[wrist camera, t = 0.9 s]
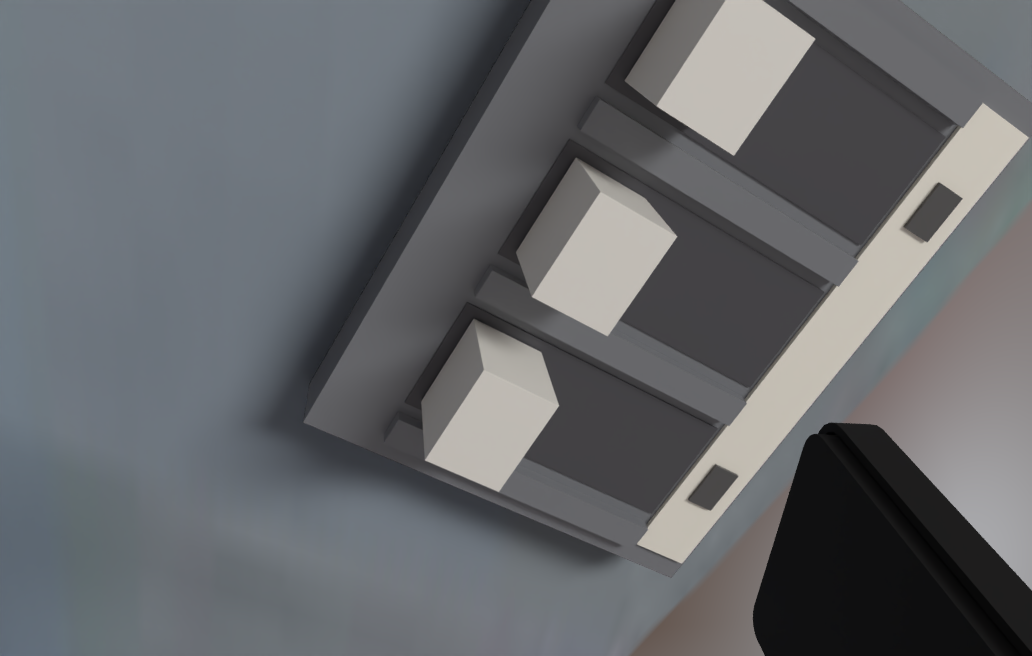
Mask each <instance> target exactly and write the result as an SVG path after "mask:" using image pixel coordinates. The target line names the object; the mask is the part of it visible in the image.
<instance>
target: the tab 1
mask: <svg viewBox="0 0 1032 656" xmlns="http://www.w3.org/2000/svg"><path fill="white" fill-rule="evenodd" d="M421 405H422V421H423V437H424V454H425V461H428V462H430V463H432V464H435V465H437V466H439V467H442V468H444V469H446V470H449V471H451V472H453V473H456V474H458V475H460V476H463V477H465V478H467V479H470V480H472V481H474V482H477V483H479V484H481V485H484V486H486V487H488V488H491V489H493V490H495V491H498V492H499V491H500V490H501V488H502V487H503V485H504V484H505V483H506V481H507V480H508V478H509V477H510V475H511V474H512V473H513V471H514V470H515V468H516V467H517V465H518V464H519V462H520V461H521V460H522V458H523V457H524V455H525V454H526V452H527V451H528V450H529V448H530V447H531V445H532V444H533V442H534V441H535V440H536V438H537V437H538V435H539V434H540V432H541V431H542V430H543V428H544V427H545V425H546V424H547V422H548V421H549V420H550V418H551V417H552V415H553V414H554V412H555V411H556V410H557V408H558V407H559V404H558V401H557V398H556V395H555V392H554V389H553V386H552V383H551V380H550V377H549V374H548V371H547V368H546V365H545V362H544V359H543V356H542V353H541V352H540V351H538V350H536V349H534V348H532V347H530V346H528V345H526V344H524V343H522V342H520V341H518V340H516V339H514V338H512V337H510V336H508V335H506V334H504V333H502V332H500V331H498V330H496V329H494V328H492V327H490V326H488V325H486V324H484V323H482V322H480V321H478V320H476V319H473V321H472V322H471V324H470V325H469V327H468V328H467V330H466V332H465V333H464V335H463V336H462V338H461V339H460V341H459V343H458V344H457V346H456V347H455V349H454V351H453V352H452V354H451V355H450V357H449V358H448V360H447V362H446V363H445V365H444V366H443V368H442V369H441V371H440V373H439V374H438V376H437V377H436V379H435V380H434V382H433V384H432V385H431V387H430V388H429V390H428V392H427V393H426V395H425V396H424V398H423V399H422V401H421Z"/></svg>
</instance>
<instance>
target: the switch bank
mask: <svg viewBox="0 0 1032 656" xmlns="http://www.w3.org/2000/svg"><path fill="white" fill-rule="evenodd" d="M763 1H764V2H765V3H767V4H768V5H770V6H771V7H772V8H774V9H775V10H776V11H778V12H779V13H781V14H782V15H783V16H785V17H786V18H788V19H789V20H790V21H792V22H793V23H794V24H796V25H797V26H799V27H800V28H801V29H803V30H804V31H805V32H807V33H808V34H810V35H811V36H812V37H814V38H815V40H814V42H813V43H812V45H811V46H810V48H809V49H808V50H807V52H806V53H805V55H804V56H803V58H802V59H801V60H800V62H799V63H798V65H797V66H796V68H795V69H794V70H793V72H792V73H791V75H790V76H789V78H788V79H787V80H786V82H785V83H784V85H783V86H782V88H781V89H780V90H779V92H778V93H777V95H776V96H775V98H774V99H773V100H772V102H771V103H770V105H769V106H768V108H767V109H766V110H765V112H764V113H763V115H762V116H761V118H760V119H759V120H758V122H757V123H756V125H755V126H754V128H753V129H752V131H751V132H750V133H749V135H748V136H747V138H746V139H745V141H744V142H743V143H742V145H741V146H740V148H739V149H738V151H737V152H736V153H735V155H732V154H730V153H729V152H727V151H726V150H724V149H723V148H721V147H719V146H718V145H716V144H715V143H713V142H712V141H710V140H708V139H707V138H705V137H704V136H702V135H701V134H699V133H698V132H696V131H694V130H693V129H691V128H690V127H688V126H687V125H685V124H683V123H682V122H680V121H679V120H677V119H676V118H674V117H672V116H671V115H669V114H668V113H666V112H665V111H663V110H662V109H660V108H658V107H657V106H655V105H654V104H653V103H652V102H650V101H649V100H648V99H647V98H645V97H644V96H643V95H642V94H640V93H639V92H638V91H637V90H635V89H634V88H633V87H631V86H630V85H629V84H628V83H626V82H625V79H626V78H627V76H628V75H629V73H630V71H631V70H632V68H633V67H634V65H635V64H636V62H637V60H638V59H639V57H640V56H641V54H642V52H643V51H644V49H645V48H646V46H647V45H648V43H649V41H650V40H651V38H652V37H653V35H654V34H655V32H656V30H657V29H658V27H659V26H660V24H661V23H662V21H663V19H664V18H665V16H666V15H667V13H668V11H669V10H670V8H671V7H672V5H673V4H674V2H675V0H531V2H530V4H529V5H528V7H527V9H526V11H525V12H524V14H523V16H522V17H521V19H520V21H519V23H518V24H517V26H516V28H515V30H514V31H513V33H512V35H511V36H510V38H509V40H508V42H507V43H506V45H505V47H504V49H503V50H502V52H501V54H500V55H499V57H498V59H497V61H496V62H495V64H494V66H493V68H492V69H491V71H490V73H489V75H488V76H487V78H486V80H485V81H484V83H483V85H482V87H481V88H480V90H479V92H478V94H477V95H476V97H475V99H474V100H473V102H472V104H471V106H470V107H469V109H468V111H467V113H466V114H465V116H464V118H463V119H462V121H461V123H460V125H459V126H458V128H457V130H456V132H455V133H454V135H453V137H452V138H451V140H450V142H449V144H448V145H447V147H446V149H445V151H444V152H443V154H442V156H441V158H440V159H439V161H438V163H437V164H436V166H435V168H434V170H433V171H432V173H431V175H430V177H429V178H428V180H427V182H426V183H425V185H424V187H423V189H422V190H421V192H420V194H419V196H418V197H417V199H416V201H415V202H414V204H413V206H412V208H411V209H410V211H409V213H408V215H407V216H406V218H405V220H404V221H403V223H402V225H401V227H400V228H399V230H398V232H397V234H396V235H395V237H394V239H393V241H392V242H391V244H390V246H389V247H388V249H387V251H386V253H385V254H384V256H383V258H382V260H381V261H380V263H379V265H378V266H377V268H376V270H375V272H374V273H373V275H372V277H371V279H370V280H369V282H368V284H367V285H366V287H365V289H364V291H363V292H362V294H361V296H360V298H359V299H358V301H357V303H356V304H355V306H354V308H353V310H352V311H351V313H350V315H349V317H348V318H347V320H346V322H345V324H344V325H343V327H342V329H341V330H340V332H339V334H338V336H337V337H336V339H335V341H334V343H333V344H332V346H331V348H330V349H329V351H328V353H327V355H326V356H325V358H324V360H323V362H322V363H321V365H320V367H319V368H318V370H317V372H316V374H315V375H314V377H313V379H312V381H311V382H310V384H309V390H308V396H307V402H306V408H305V414H304V420H303V423H306V424H308V425H310V426H313V427H315V428H317V429H320V430H322V431H325V432H327V433H329V434H332V435H334V436H336V437H339V438H341V439H343V440H346V441H348V442H351V443H353V444H355V445H358V446H360V447H362V448H365V449H367V450H369V451H372V452H374V453H377V454H379V455H381V456H384V457H386V458H388V459H391V460H393V461H396V462H398V463H400V464H403V465H405V466H407V467H410V468H412V469H414V470H417V471H419V472H422V473H424V474H426V475H429V476H431V477H433V478H436V479H438V480H440V481H443V482H445V483H448V484H450V485H452V486H455V487H457V488H459V489H462V490H464V491H467V492H469V493H471V494H474V495H476V496H478V497H481V498H483V499H485V500H488V501H490V502H493V503H495V504H497V505H500V506H502V507H504V508H507V509H509V510H512V511H514V512H516V513H519V514H521V515H523V516H526V517H528V518H530V519H533V520H535V521H538V522H540V523H542V524H545V525H547V526H549V527H552V528H554V529H556V530H559V531H561V532H564V533H566V534H568V535H571V536H573V537H575V538H578V539H580V540H583V541H585V542H587V543H590V544H592V545H594V546H597V547H599V548H601V549H604V550H606V551H609V552H611V553H613V554H616V555H618V556H620V557H623V558H625V559H627V560H630V561H632V562H635V563H637V564H639V565H642V566H644V567H646V568H649V569H651V570H654V571H656V572H658V573H661V574H663V575H665V576H668V577H670V578H672V577H673V575H674V574H675V573H676V572H677V570H678V569H679V568H680V567H681V566H682V564H683V563H684V562H685V561H686V559H687V558H688V557H689V556H690V555H691V553H692V552H693V551H694V550H695V548H696V547H697V546H698V545H699V543H700V542H701V541H702V540H703V539H704V537H705V536H706V535H707V534H708V532H709V531H710V530H711V529H712V528H713V526H714V525H715V524H716V523H717V521H718V520H719V519H720V518H721V516H722V515H723V514H724V513H725V512H726V510H727V509H728V508H729V507H730V505H731V504H732V503H733V502H734V501H735V499H736V498H737V497H738V496H739V494H740V493H741V492H742V491H743V489H744V488H745V487H746V486H747V485H748V483H749V482H750V481H751V480H752V478H753V477H754V476H755V475H756V474H757V472H758V471H759V470H760V469H761V467H762V466H763V465H764V464H765V462H766V461H767V460H768V459H769V458H770V456H771V455H772V454H773V453H774V451H775V450H776V449H777V448H778V447H779V445H780V444H781V443H782V442H783V440H784V439H785V438H786V437H787V435H788V434H789V433H790V432H791V431H792V429H793V428H794V427H795V426H796V424H797V423H798V422H799V421H800V420H801V418H802V417H803V416H804V415H805V413H806V412H807V411H808V410H809V408H810V407H811V406H812V405H813V404H814V402H815V401H816V400H817V399H818V397H819V396H820V395H821V394H822V393H823V391H824V390H825V389H826V388H827V386H828V385H829V384H830V383H831V381H832V380H833V379H834V378H835V377H836V375H837V374H838V373H839V372H840V370H841V369H842V368H843V367H844V366H845V364H846V363H847V362H848V361H849V359H850V358H851V357H852V356H853V354H854V353H855V352H856V351H857V350H858V348H859V347H860V346H861V345H862V343H863V342H864V341H865V340H866V339H867V337H868V336H869V335H870V334H871V332H872V331H873V330H874V329H875V327H876V326H877V325H878V324H879V323H880V321H881V320H882V319H883V318H884V316H885V315H886V314H887V313H888V312H889V310H890V309H891V308H892V307H893V305H894V304H895V303H896V302H897V300H898V299H899V298H900V297H901V296H902V294H903V293H904V292H905V291H906V289H907V288H908V287H909V286H910V285H911V283H912V282H913V281H914V280H915V278H916V277H917V276H918V275H919V273H920V272H921V271H922V270H923V269H924V267H925V266H926V265H927V264H928V262H929V261H930V260H931V259H932V258H933V256H934V255H935V254H936V253H937V251H938V250H939V249H940V248H941V246H942V245H943V244H944V243H945V242H946V240H947V239H948V238H949V237H950V235H951V234H952V233H953V232H954V231H955V229H956V228H957V227H958V226H959V224H960V223H961V222H962V221H963V220H964V218H965V217H966V216H967V215H968V213H969V212H970V211H971V210H972V208H973V207H974V206H975V205H976V204H977V202H978V201H979V200H980V199H981V197H982V196H983V195H984V194H985V193H986V191H987V190H988V189H989V188H990V186H991V185H992V184H993V183H994V181H995V180H996V179H997V178H998V177H999V175H1000V174H1001V173H1002V172H1003V170H1004V169H1005V168H1006V167H1007V166H1008V164H1009V163H1010V162H1011V161H1012V159H1013V158H1014V157H1015V156H1016V154H1017V153H1018V152H1019V151H1020V150H1021V148H1022V147H1023V146H1024V145H1025V143H1026V142H1027V141H1028V140H1029V139H1030V137H1031V136H1032V103H1031V102H1030V101H1029V100H1028V99H1026V98H1025V97H1024V96H1022V95H1021V94H1020V93H1018V92H1017V91H1016V90H1015V89H1013V88H1012V87H1011V86H1009V85H1008V84H1007V83H1006V82H1004V81H1003V80H1002V79H1000V78H999V77H998V76H997V75H995V74H994V73H993V72H991V71H990V70H989V69H988V68H986V67H985V66H984V65H982V64H981V63H980V62H978V61H977V60H976V59H975V58H973V57H972V56H971V55H969V54H968V53H967V52H966V51H964V50H963V49H962V48H960V47H959V46H958V45H957V44H955V43H954V42H953V41H951V40H950V39H949V38H948V37H946V36H945V35H944V34H942V33H941V32H940V31H939V30H937V29H936V28H935V27H933V26H932V25H931V24H929V23H928V22H927V21H926V20H924V19H923V18H922V17H920V16H919V15H918V14H917V13H915V12H914V11H913V10H911V9H910V8H909V7H908V6H906V5H905V4H904V3H902V2H901V1H900V0H763ZM575 158H578V159H580V160H581V161H583V162H585V163H586V164H588V165H590V166H592V167H593V168H595V169H597V170H598V171H600V172H602V173H603V174H605V175H607V176H608V177H610V178H612V179H613V180H615V181H617V182H619V183H620V184H622V185H624V186H625V187H627V188H629V189H630V190H632V191H634V192H635V193H637V194H639V195H640V196H642V197H644V198H645V199H646V200H647V201H648V202H649V203H650V205H651V206H652V207H653V208H654V209H655V211H656V212H657V213H658V214H659V215H660V217H661V218H662V219H663V220H664V221H665V222H666V224H667V225H668V226H669V227H670V228H671V230H672V231H673V232H674V233H675V234H676V236H677V238H676V239H675V241H674V242H673V244H672V245H671V246H670V248H669V249H668V251H667V252H666V254H665V255H664V256H663V258H662V259H661V261H660V262H659V264H658V265H657V266H656V268H655V269H654V271H653V272H652V274H651V275H650V276H649V278H648V279H647V281H646V282H645V284H644V285H643V286H642V288H641V289H640V291H639V292H638V294H637V295H636V297H635V298H634V299H633V301H632V302H631V304H630V305H629V307H628V308H627V309H626V311H625V312H624V314H623V315H622V317H621V318H620V319H619V321H618V322H617V324H616V325H615V327H614V328H613V329H612V331H611V332H610V334H609V335H608V336H606V335H604V334H602V333H600V332H598V331H596V330H594V329H592V328H591V327H589V326H587V325H585V324H583V323H581V322H579V321H577V320H575V319H573V318H571V317H569V316H567V315H566V314H564V313H562V312H560V311H558V310H556V309H554V308H552V307H550V306H548V305H546V304H544V303H542V302H541V301H539V300H537V299H535V298H533V297H532V296H531V293H530V291H529V288H528V285H527V282H526V279H525V276H524V274H523V271H522V268H521V265H520V262H519V260H518V257H517V254H516V251H517V250H518V248H519V246H520V245H521V243H522V242H523V240H524V239H525V237H526V235H527V234H528V232H529V231H530V229H531V228H532V226H533V224H534V223H535V221H536V220H537V218H538V216H539V215H540V213H541V212H542V210H543V209H544V207H545V205H546V204H547V202H548V201H549V199H550V198H551V196H552V194H553V193H554V191H555V190H556V188H557V187H558V185H559V183H560V182H561V180H562V179H563V177H564V175H565V174H566V172H567V171H568V169H569V168H570V166H571V164H572V163H573V161H574V160H575ZM473 319H476V320H478V321H480V322H482V323H484V324H486V325H488V326H490V327H492V328H494V329H496V330H498V331H500V332H502V333H504V334H506V335H508V336H510V337H512V338H514V339H516V340H518V341H520V342H522V343H524V344H526V345H528V346H530V347H532V348H534V349H536V350H538V351H540V352H541V353H542V356H543V359H544V362H545V365H546V368H547V371H548V374H549V377H550V380H551V383H552V386H553V389H554V392H555V395H556V398H557V401H558V404H559V407H558V408H557V410H556V411H555V412H554V414H553V415H552V417H551V418H550V420H549V421H548V422H547V424H546V425H545V427H544V428H543V430H542V431H541V432H540V434H539V435H538V437H537V438H536V440H535V441H534V442H533V444H532V445H531V447H530V448H529V450H528V451H527V452H526V454H525V455H524V457H523V458H522V460H521V461H520V462H519V464H518V465H517V467H516V468H515V470H514V471H513V473H512V474H511V475H510V477H509V478H508V480H507V481H506V483H505V484H504V485H503V487H502V488H501V490H500V491H499V492H498V491H495V490H493V489H491V488H488V487H486V486H484V485H481V484H479V483H477V482H474V481H472V480H470V479H467V478H465V477H463V476H460V475H458V474H456V473H453V472H451V471H449V470H446V469H444V468H442V467H439V466H437V465H435V464H432V463H430V462H428V461H425V454H424V437H423V421H422V405H421V401H422V399H423V398H424V396H425V395H426V393H427V392H428V390H429V388H430V387H431V385H432V384H433V382H434V380H435V379H436V377H437V376H438V374H439V373H440V371H441V369H442V368H443V366H444V365H445V363H446V362H447V360H448V358H449V357H450V355H451V354H452V352H453V351H454V349H455V347H456V346H457V344H458V343H459V341H460V339H461V338H462V336H463V335H464V333H465V332H466V330H467V328H468V327H469V325H470V324H471V322H472V321H473Z"/></svg>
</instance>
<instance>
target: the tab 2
mask: <svg viewBox="0 0 1032 656" xmlns="http://www.w3.org/2000/svg"><path fill="white" fill-rule="evenodd" d="M814 40H815V38H814V37H812V36H811V35H810V34H808V33H807V32H805V31H804V30H803V29H801V28H800V27H799V26H797V25H796V24H794V23H793V22H792V21H790V20H789V19H788V18H786V17H785V16H783V15H782V14H781V13H779V12H778V11H776V10H775V9H774V8H772V7H771V6H770V5H768V4H767V3H765V2H764V1H763V0H675V2H674V4H673V5H672V7H671V8H670V10H669V11H668V13H667V15H666V16H665V18H664V19H663V21H662V23H661V24H660V26H659V27H658V29H657V30H656V32H655V34H654V35H653V37H652V38H651V40H650V41H649V43H648V45H647V46H646V48H645V49H644V51H643V52H642V54H641V56H640V57H639V59H638V60H637V62H636V64H635V65H634V67H633V68H632V70H631V71H630V73H629V75H628V76H627V78H626V79H625V82H626V83H628V84H629V85H630V86H631V87H633V88H634V89H635V90H637V91H638V92H639V93H640V94H642V95H643V96H644V97H645V98H647V99H648V100H649V101H650V102H652V103H653V104H654V105H655V106H657V107H658V108H660V109H662V110H663V111H665V112H666V113H668V114H669V115H671V116H672V117H674V118H676V119H677V120H679V121H680V122H682V123H683V124H685V125H687V126H688V127H690V128H691V129H693V130H694V131H696V132H698V133H699V134H701V135H702V136H704V137H705V138H707V139H708V140H710V141H712V142H713V143H715V144H716V145H718V146H719V147H721V148H723V149H724V150H726V151H727V152H729V153H730V154H732V155H735V153H736V152H737V151H738V149H739V148H740V146H741V145H742V143H743V142H744V141H745V139H746V138H747V136H748V135H749V133H750V132H751V131H752V129H753V128H754V126H755V125H756V123H757V122H758V120H759V119H760V118H761V116H762V115H763V113H764V112H765V110H766V109H767V108H768V106H769V105H770V103H771V102H772V100H773V99H774V98H775V96H776V95H777V93H778V92H779V90H780V89H781V88H782V86H783V85H784V83H785V82H786V80H787V79H788V78H789V76H790V75H791V73H792V72H793V70H794V69H795V68H796V66H797V65H798V63H799V62H800V60H801V59H802V58H803V56H804V55H805V53H806V52H807V50H808V49H809V48H810V46H811V45H812V43H813V42H814Z"/></svg>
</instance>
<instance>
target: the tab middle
mask: <svg viewBox="0 0 1032 656" xmlns="http://www.w3.org/2000/svg"><path fill="white" fill-rule="evenodd" d="M676 238H677V236H676V234H675V233H674V232H673V231H672V230H671V228H670V227H669V226H668V225H667V224H666V222H665V221H664V220H663V219H662V218H661V217H660V215H659V214H658V213H657V212H656V211H655V209H654V208H653V207H652V206H651V205H650V203H649V202H648V201H647V200H646V199H645V198H644V197H642V196H640V195H639V194H637V193H635V192H634V191H632V190H630V189H629V188H627V187H625V186H624V185H622V184H620V183H619V182H617V181H615V180H613V179H612V178H610V177H608V176H607V175H605V174H603V173H602V172H600V171H598V170H597V169H595V168H593V167H592V166H590V165H588V164H586V163H585V162H583V161H581V160H580V159H578V158H575V160H574V161H573V163H572V164H571V166H570V168H569V169H568V171H567V172H566V174H565V175H564V177H563V179H562V180H561V182H560V183H559V185H558V187H557V188H556V190H555V191H554V193H553V194H552V196H551V198H550V199H549V201H548V202H547V204H546V205H545V207H544V209H543V210H542V212H541V213H540V215H539V216H538V218H537V220H536V221H535V223H534V224H533V226H532V228H531V229H530V231H529V232H528V234H527V235H526V237H525V239H524V240H523V242H522V243H521V245H520V246H519V248H518V250H517V251H516V254H517V257H518V260H519V262H520V265H521V268H522V271H523V274H524V276H525V279H526V282H527V285H528V288H529V291H530V293H531V296H532V297H533V298H535V299H537V300H539V301H541V302H542V303H544V304H546V305H548V306H550V307H552V308H554V309H556V310H558V311H560V312H562V313H564V314H566V315H567V316H569V317H571V318H573V319H575V320H577V321H579V322H581V323H583V324H585V325H587V326H589V327H591V328H592V329H594V330H596V331H598V332H600V333H602V334H604V335H606V336H608V335H609V334H610V332H611V331H612V329H613V328H614V327H615V325H616V324H617V322H618V321H619V319H620V318H621V317H622V315H623V314H624V312H625V311H626V309H627V308H628V307H629V305H630V304H631V302H632V301H633V299H634V298H635V297H636V295H637V294H638V292H639V291H640V289H641V288H642V286H643V285H644V284H645V282H646V281H647V279H648V278H649V276H650V275H651V274H652V272H653V271H654V269H655V268H656V266H657V265H658V264H659V262H660V261H661V259H662V258H663V256H664V255H665V254H666V252H667V251H668V249H669V248H670V246H671V245H672V244H673V242H674V241H675V239H676Z"/></svg>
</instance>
